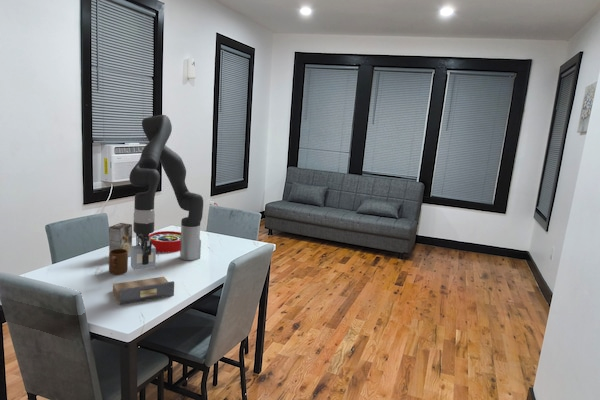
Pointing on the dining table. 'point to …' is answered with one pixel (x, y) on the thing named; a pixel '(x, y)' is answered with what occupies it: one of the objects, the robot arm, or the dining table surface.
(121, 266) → the mug
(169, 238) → the toy clock
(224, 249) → the dining table surface
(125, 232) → the coffee box
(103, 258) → the dining table surface
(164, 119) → the robot arm
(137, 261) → the carton
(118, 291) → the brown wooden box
